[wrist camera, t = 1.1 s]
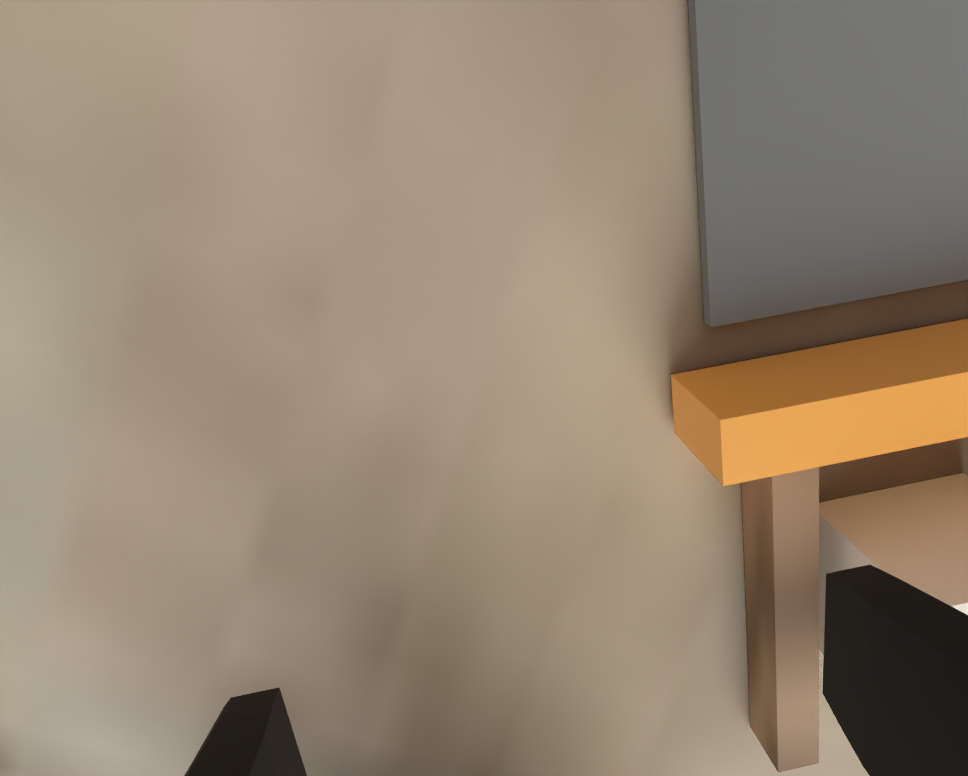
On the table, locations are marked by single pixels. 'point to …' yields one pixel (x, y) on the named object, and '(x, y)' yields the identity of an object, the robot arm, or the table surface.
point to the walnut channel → (783, 614)
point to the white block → (901, 538)
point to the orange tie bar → (825, 403)
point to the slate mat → (828, 151)
